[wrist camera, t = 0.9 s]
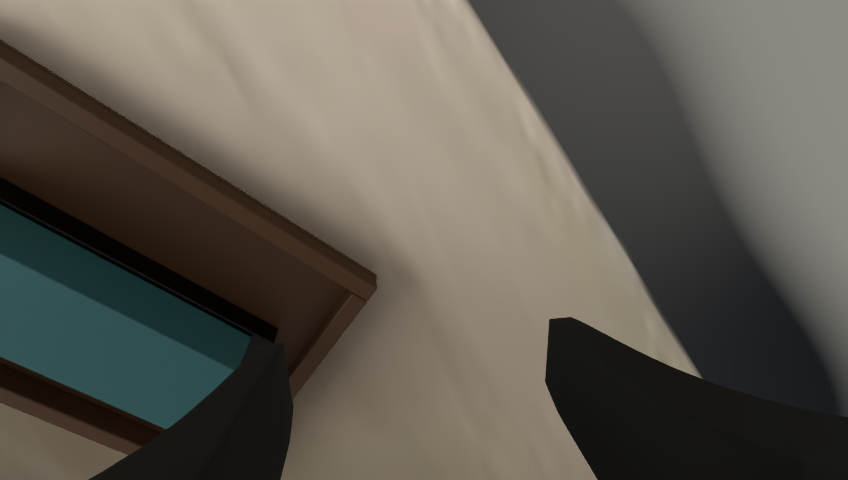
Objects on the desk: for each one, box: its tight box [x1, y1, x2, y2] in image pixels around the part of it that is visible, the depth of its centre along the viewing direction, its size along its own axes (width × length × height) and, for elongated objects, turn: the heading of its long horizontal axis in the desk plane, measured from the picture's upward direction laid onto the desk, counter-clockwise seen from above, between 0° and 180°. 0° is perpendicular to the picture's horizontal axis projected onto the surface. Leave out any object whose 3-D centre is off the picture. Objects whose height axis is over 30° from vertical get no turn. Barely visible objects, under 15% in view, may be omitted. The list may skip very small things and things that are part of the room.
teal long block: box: [0, 177, 278, 429], centre depth 19 cm, size 14×4×4 cm, turn 53°
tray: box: [0, 40, 377, 455], centre depth 20 cm, size 14×19×2 cm
